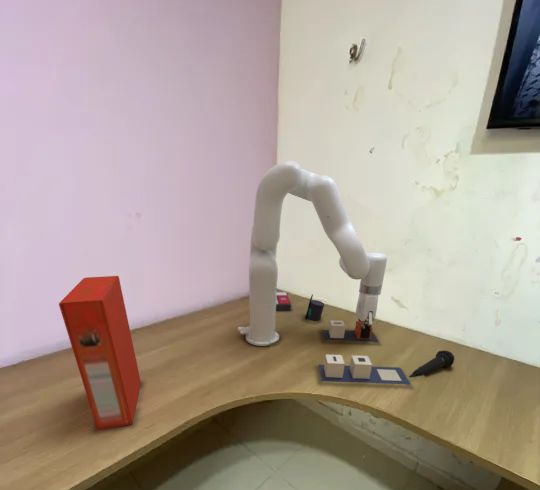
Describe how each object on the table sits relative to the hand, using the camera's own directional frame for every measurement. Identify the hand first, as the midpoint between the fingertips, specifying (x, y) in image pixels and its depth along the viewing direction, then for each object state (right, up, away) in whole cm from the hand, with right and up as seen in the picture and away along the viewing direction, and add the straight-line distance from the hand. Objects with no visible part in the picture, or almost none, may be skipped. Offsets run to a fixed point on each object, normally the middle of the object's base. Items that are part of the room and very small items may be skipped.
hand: (362, 333), depth 117 cm
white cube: (-16, -12, -23) cm, 30 cm away
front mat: (-7, -13, -22) cm, 27 cm away
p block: (-8, -12, -23) cm, 27 cm away
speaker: (-16, +6, +16) cm, 23 cm away
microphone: (+15, -12, -18) cm, 26 cm away
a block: (-10, 0, +1) cm, 10 cm away
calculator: (-32, +13, +30) cm, 46 cm away
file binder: (-75, -18, -36) cm, 85 cm away
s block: (0, -1, 0) cm, 1 cm away
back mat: (-5, -2, +1) cm, 5 cm away
